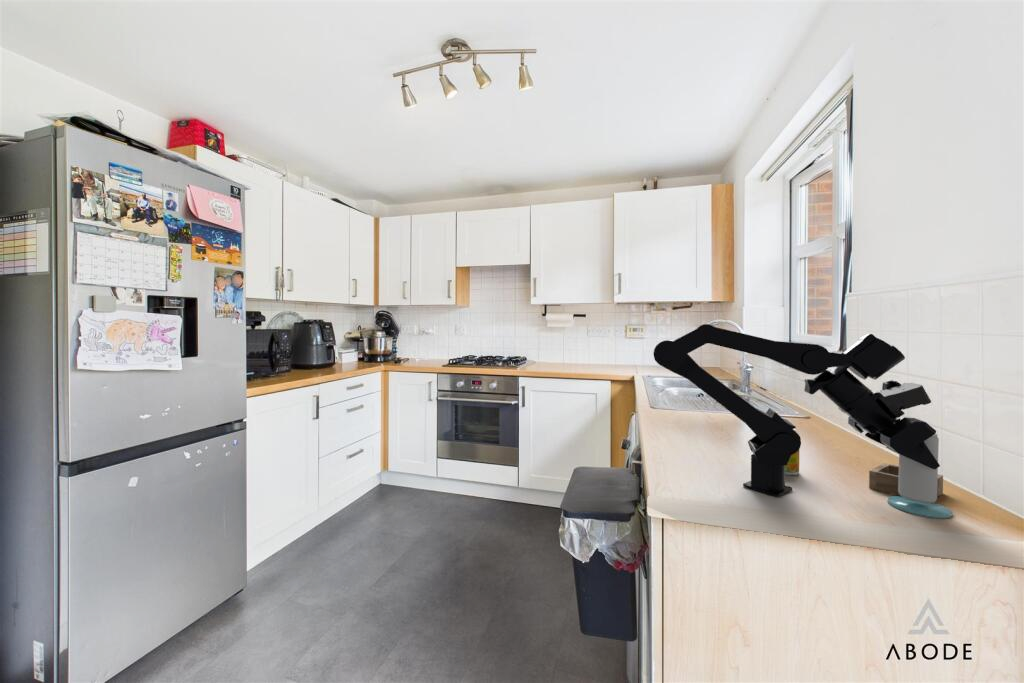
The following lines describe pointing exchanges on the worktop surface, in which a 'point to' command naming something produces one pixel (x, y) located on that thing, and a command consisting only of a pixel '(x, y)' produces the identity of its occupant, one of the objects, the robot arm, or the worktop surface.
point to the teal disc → (920, 508)
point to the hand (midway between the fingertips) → (928, 463)
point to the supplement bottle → (793, 464)
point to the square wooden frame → (892, 479)
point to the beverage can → (919, 476)
